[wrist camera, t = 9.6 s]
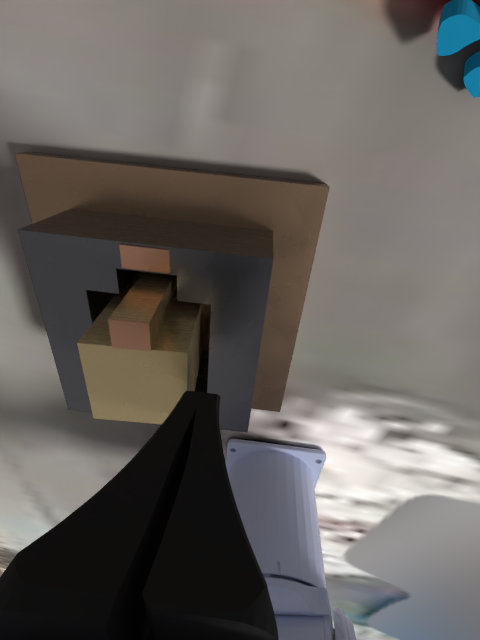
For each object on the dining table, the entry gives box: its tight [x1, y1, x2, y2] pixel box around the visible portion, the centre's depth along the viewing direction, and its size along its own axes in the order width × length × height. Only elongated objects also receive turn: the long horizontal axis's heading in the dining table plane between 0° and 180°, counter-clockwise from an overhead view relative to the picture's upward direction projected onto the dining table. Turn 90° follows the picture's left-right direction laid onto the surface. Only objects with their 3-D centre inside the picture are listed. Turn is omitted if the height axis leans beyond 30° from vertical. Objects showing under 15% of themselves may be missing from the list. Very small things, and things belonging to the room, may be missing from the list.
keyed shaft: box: [77, 271, 208, 424], centre depth 15 cm, size 5×4×7 cm
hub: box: [15, 152, 329, 432], centre depth 17 cm, size 15×15×5 cm
